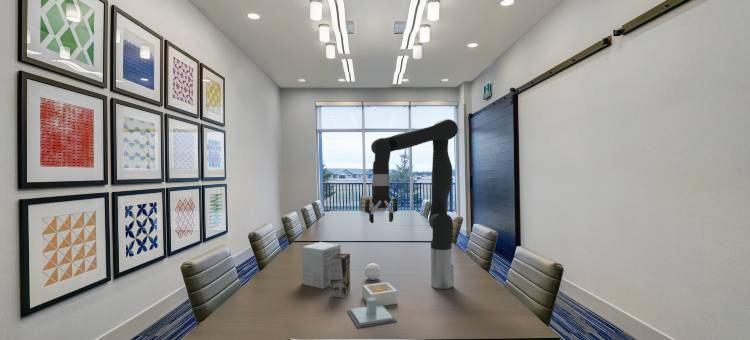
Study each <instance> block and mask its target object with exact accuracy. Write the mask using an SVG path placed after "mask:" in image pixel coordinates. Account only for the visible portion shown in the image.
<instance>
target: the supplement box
mask: <svg viewBox="0 0 750 340" xmlns="http://www.w3.org/2000/svg"><path fill="white" fill-rule="evenodd" d="M341 246H342V245H341V244H338V243H330V242H324V241H319V242H315V243H311V244H308V245H307V244H306V245H304V246H301V251H302V252H301V253H302V254H301V258H302V259H301V261H302V262H301V263H302V264H301V266H302V270H301V271H302V274H301V277H302V279H301V280H302V285H306V286H310V287H315V288H317V289H321V290H324V289H326V288H328V287H330V258H332V257H333V256H334V255H336V254H342V252H341Z"/></svg>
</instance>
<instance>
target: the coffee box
mask: <svg viewBox="0 0 750 340" xmlns="http://www.w3.org/2000/svg"><path fill="white" fill-rule="evenodd" d="M329 288H330V289H329V291H330V293H329V294H330V297H332V298H343V299H344V298H346V296H347V294H349V292H351V254H350V253H341V254H336V255H334V256H333V257H332V258H330V286H329Z"/></svg>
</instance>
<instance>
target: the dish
mask: <svg viewBox="0 0 750 340" xmlns="http://www.w3.org/2000/svg"><path fill="white" fill-rule="evenodd" d="M361 286H362V287H361V288H362V299H363V300H364V301H365V302H366V298H372V297H374V298H375V299H376V305H383V306H384V307H385V306H390V305H396V304H397V305H398V290H397V289H396V288H395V287H394V286H393V285H391V284H390V283H389V282H388V281H386V282H384V281H383V282H377V283H371V284H370V283H369V284H364V285H363V284H362V285H361ZM377 289H382V290H383V292H376V293H375V291H376V290H377Z"/></svg>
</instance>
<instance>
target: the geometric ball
mask: <svg viewBox="0 0 750 340" xmlns="http://www.w3.org/2000/svg"><path fill="white" fill-rule="evenodd" d="M381 273H382V272H381V267H380V266H379V265H378V264H377V263H373V262H372V263H369V264H367V265H366V267H365V269H364V274H365V275H364V276H366V278H367V279H368V280H370V281H375V280H377V279H378V278H380V275H381Z"/></svg>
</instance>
